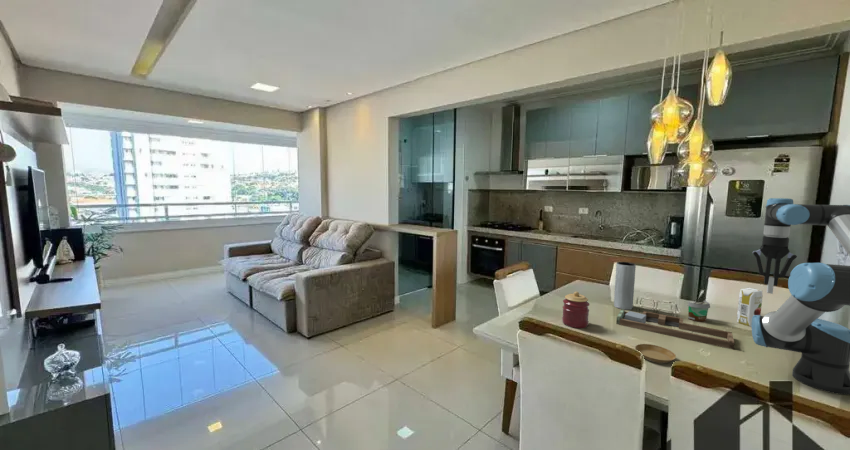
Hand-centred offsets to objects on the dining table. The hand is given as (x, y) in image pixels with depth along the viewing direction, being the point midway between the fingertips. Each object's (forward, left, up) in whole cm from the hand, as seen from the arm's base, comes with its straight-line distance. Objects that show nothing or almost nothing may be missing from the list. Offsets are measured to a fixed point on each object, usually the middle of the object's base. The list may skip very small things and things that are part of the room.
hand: (769, 292), depth 142 cm
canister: (-8, +73, -30) cm, 79 cm away
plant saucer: (-25, +36, -30) cm, 53 cm away
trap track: (+17, +32, -29) cm, 47 cm away
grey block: (+13, +48, -30) cm, 58 cm away
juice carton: (+50, 0, -30) cm, 58 cm away
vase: (+38, +57, -30) cm, 75 cm away
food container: (+40, +20, -30) cm, 54 cm away
